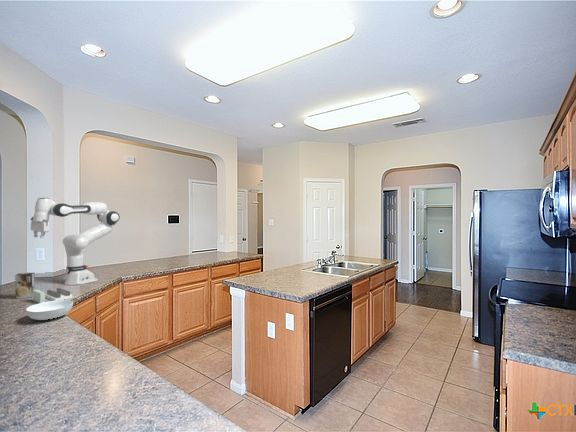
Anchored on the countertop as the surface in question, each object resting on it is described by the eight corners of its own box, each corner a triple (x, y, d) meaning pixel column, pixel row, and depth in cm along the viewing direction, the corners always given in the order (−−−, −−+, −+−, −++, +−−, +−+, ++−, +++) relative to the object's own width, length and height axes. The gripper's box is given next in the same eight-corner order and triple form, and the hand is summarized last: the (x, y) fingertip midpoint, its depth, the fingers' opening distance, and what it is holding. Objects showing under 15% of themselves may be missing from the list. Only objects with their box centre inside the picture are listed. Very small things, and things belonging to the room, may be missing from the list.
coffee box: (35, 294, 207) (35, 272, 207) (32, 297, 201) (32, 274, 201) (18, 296, 203) (18, 273, 202) (14, 299, 197) (14, 275, 197)
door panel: (37, 299, 197) (37, 289, 196) (45, 303, 190) (45, 292, 190) (33, 300, 195) (33, 290, 194) (40, 304, 188) (40, 293, 188)
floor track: (61, 293, 211) (61, 287, 211) (72, 297, 202) (72, 291, 202) (44, 297, 202) (44, 290, 202) (55, 301, 193) (55, 294, 193)
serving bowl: (67, 308, 182) (67, 297, 181) (78, 316, 168) (78, 304, 168) (22, 317, 165) (22, 305, 165) (30, 327, 152) (30, 314, 152)
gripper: (53, 220, 217) (50, 238, 216) (39, 218, 226) (37, 236, 226) (42, 219, 211) (40, 238, 210) (29, 218, 221) (27, 236, 220)
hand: (38, 237), depth 218 cm, fingers open, 8 cm apart
